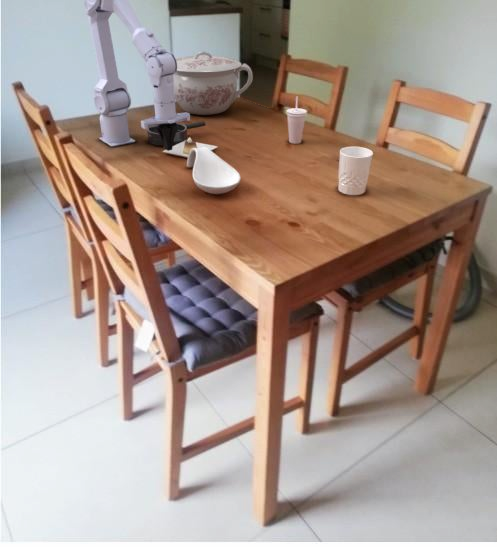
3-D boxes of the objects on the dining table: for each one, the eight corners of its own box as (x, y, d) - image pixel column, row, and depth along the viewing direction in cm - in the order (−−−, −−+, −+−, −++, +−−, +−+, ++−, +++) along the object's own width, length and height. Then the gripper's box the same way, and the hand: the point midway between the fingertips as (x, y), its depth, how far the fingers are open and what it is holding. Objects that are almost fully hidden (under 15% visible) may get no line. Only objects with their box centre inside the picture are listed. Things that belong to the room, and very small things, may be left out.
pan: (141, 139, 158) (140, 127, 155) (175, 132, 164) (174, 120, 162) (160, 149, 149) (159, 136, 147) (194, 142, 156) (194, 129, 154)
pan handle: (182, 129, 159) (181, 124, 158) (202, 125, 163) (202, 120, 162) (184, 130, 158) (184, 125, 157) (205, 126, 162) (205, 121, 161)
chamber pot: (153, 112, 184) (147, 52, 172) (200, 98, 203) (197, 43, 191) (212, 125, 170) (210, 61, 159) (256, 109, 189) (257, 50, 178)
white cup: (360, 199, 120) (366, 159, 115) (330, 192, 124) (334, 153, 118) (371, 188, 126) (377, 150, 121) (343, 181, 129) (347, 144, 124)
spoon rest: (248, 195, 122) (248, 167, 118) (203, 203, 118) (201, 174, 114) (213, 163, 140) (212, 138, 136) (173, 169, 136) (171, 144, 132)
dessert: (185, 143, 154) (184, 128, 152) (218, 150, 150) (217, 134, 147) (162, 155, 146) (160, 139, 143) (196, 162, 141) (195, 145, 138)
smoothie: (282, 143, 155) (284, 97, 148) (288, 137, 160) (290, 92, 153) (301, 146, 153) (304, 99, 146) (307, 140, 158) (310, 94, 151)
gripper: (147, 108, 129) (152, 158, 136) (194, 100, 136) (197, 148, 144) (135, 102, 134) (140, 151, 141) (181, 95, 141) (184, 141, 148)
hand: (168, 149), depth 143 cm, fingers closed
